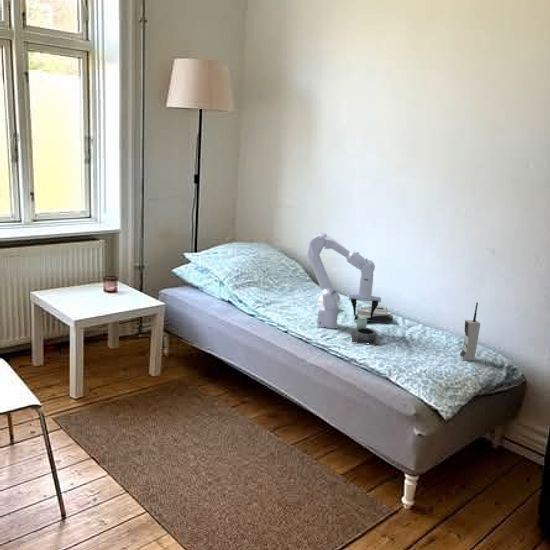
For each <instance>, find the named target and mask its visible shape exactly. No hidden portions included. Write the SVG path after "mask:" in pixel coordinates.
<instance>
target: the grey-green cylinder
mask: <svg viewBox="0 0 550 550" xmlns="http://www.w3.org/2000/svg"><path fill="white" fill-rule="evenodd" d="M367 325H368V321H367V318H365V317H358V320H356V329H357V328H367Z"/></svg>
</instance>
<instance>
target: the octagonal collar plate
mask: <svg viewBox="0 0 550 550" xmlns="http://www.w3.org/2000/svg"><path fill="white" fill-rule="evenodd" d="M351 337H352V340H351V343H352V342H357V343H369V344H375V345H374V346H378V345H379V346H380V344H381V343H380V339H379V335H378V334H377V331H376V330H374V329H373V328H369V327H366V328H357V327H356V328H355V329H354V331H350V338H351ZM357 343H356V344H357Z"/></svg>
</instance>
